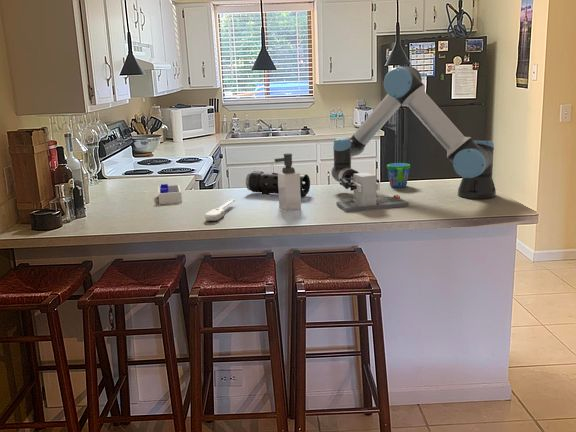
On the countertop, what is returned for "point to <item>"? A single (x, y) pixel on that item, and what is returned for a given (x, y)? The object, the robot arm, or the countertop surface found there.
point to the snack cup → (398, 174)
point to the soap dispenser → (288, 185)
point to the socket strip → (381, 204)
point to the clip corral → (170, 195)
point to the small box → (365, 189)
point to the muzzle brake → (272, 183)
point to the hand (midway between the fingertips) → (369, 187)
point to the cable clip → (164, 188)
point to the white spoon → (217, 212)
